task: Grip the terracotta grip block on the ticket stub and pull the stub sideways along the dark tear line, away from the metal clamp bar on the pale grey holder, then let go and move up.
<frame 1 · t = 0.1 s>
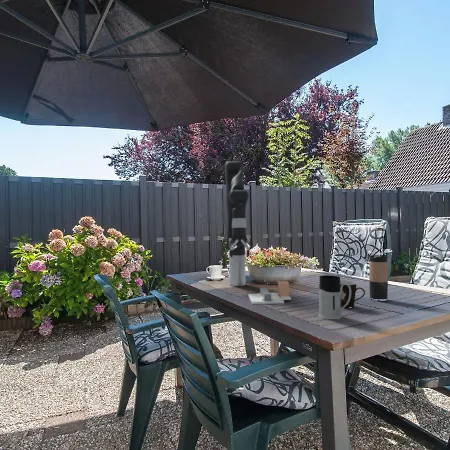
hand: (239, 257, 179), 17 cm above the table, tool pointing down, fingers open, 8 cm apart
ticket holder: (265, 299, 155), on the table
travel mug: (378, 300, 152), on the table
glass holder: (335, 318, 124), on the table
ticket stub: (283, 289, 156), point 4 cm above the table, slide at 0.0 cm
coffee mug: (348, 307, 140), on the table
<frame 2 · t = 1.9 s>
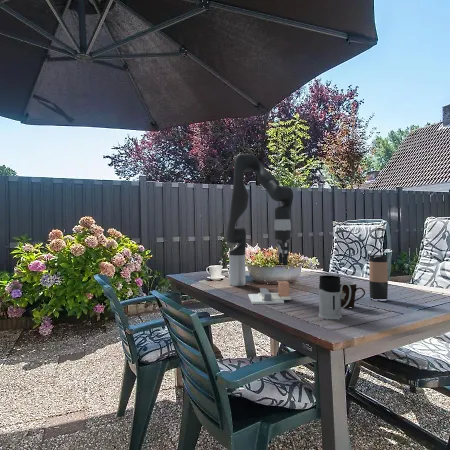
hand: (283, 264, 155), 16 cm above the table, tool pointing down, fingers open, 8 cm apart
nothing on the table moved.
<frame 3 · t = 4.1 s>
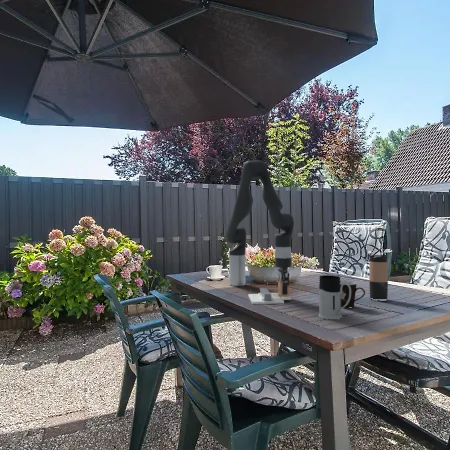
hand: (283, 292, 156), 3 cm above the table, tool pointing down, fingers closed on ticket stub, 5 cm apart
ticket stub: (283, 289, 156), point 4 cm above the table, slide at 0.0 cm, touching gripper
everything else where it was.
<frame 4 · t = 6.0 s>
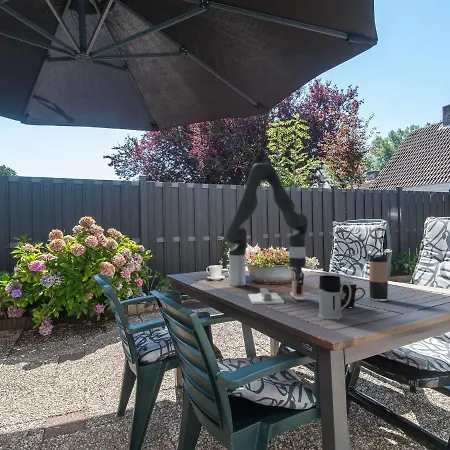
hand: (297, 292, 156), 3 cm above the table, tool pointing down, fingers closed on ticket stub, 5 cm apart
ticket stub: (297, 289, 156), point 5 cm above the table, slide at 6.5 cm, touching gripper
everything else where it was.
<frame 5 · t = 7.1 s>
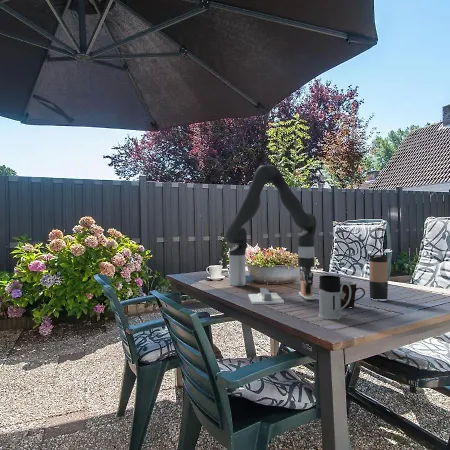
hand: (306, 292, 156), 3 cm above the table, tool pointing down, fingers closed on ticket stub, 5 cm apart
ticket stub: (306, 289, 156), point 4 cm above the table, slide at 10.8 cm, touching gripper
everything else where it was.
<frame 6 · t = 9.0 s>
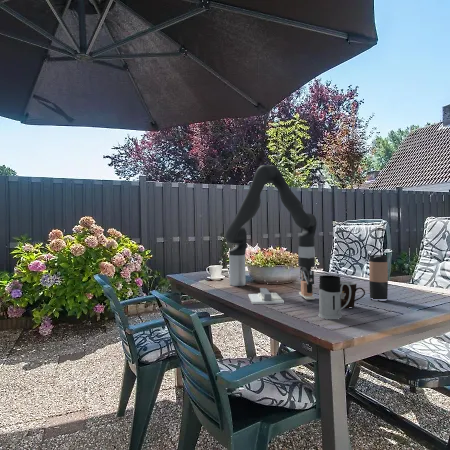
hand: (306, 291, 156), 4 cm above the table, tool pointing down, fingers open, 8 cm apart
ticket stub: (306, 289, 156), point 4 cm above the table, slide at 10.8 cm
everything else where it was.
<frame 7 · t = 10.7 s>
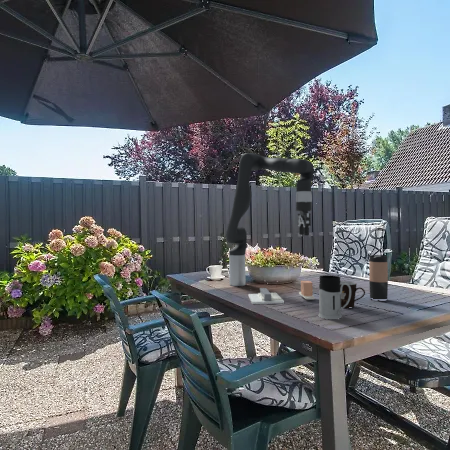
hand: (303, 234, 162), 29 cm above the table, tool pointing down, fingers open, 8 cm apart
nothing on the table moved.
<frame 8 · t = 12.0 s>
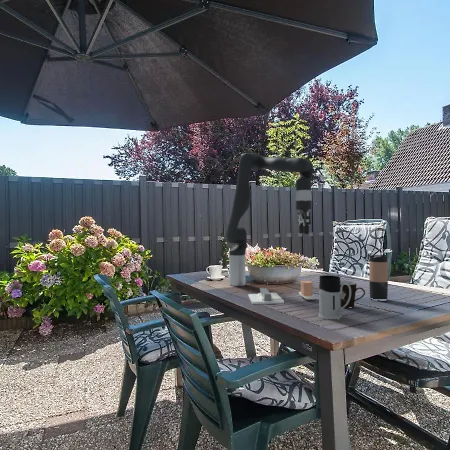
hand: (303, 233, 162), 30 cm above the table, tool pointing down, fingers open, 8 cm apart
nothing on the table moved.
at the end: ticket stub slide at 10.8 cm; the gripper is holding nothing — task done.
